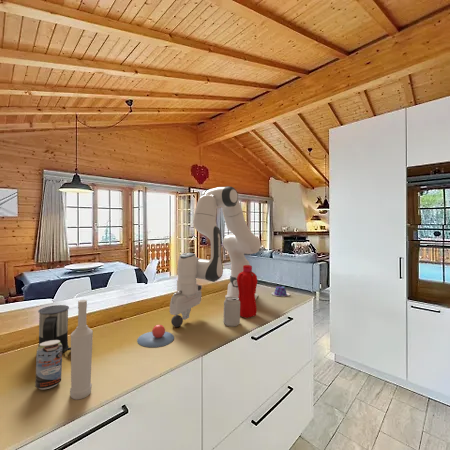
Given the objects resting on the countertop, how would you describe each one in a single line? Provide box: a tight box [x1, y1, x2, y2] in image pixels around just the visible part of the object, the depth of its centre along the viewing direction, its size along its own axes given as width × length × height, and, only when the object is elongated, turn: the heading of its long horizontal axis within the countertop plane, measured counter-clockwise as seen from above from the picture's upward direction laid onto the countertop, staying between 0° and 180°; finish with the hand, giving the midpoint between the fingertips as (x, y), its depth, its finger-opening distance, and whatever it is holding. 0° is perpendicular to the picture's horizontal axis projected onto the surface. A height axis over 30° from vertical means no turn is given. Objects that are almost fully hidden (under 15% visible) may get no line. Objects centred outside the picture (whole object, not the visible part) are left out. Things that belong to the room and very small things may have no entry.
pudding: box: [270, 285, 291, 298], centre depth 174 cm, size 12×12×5 cm
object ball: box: [151, 324, 166, 338], centre depth 106 cm, size 5×5×5 cm
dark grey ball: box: [170, 314, 184, 328], centre depth 118 cm, size 5×5×5 cm
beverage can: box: [34, 340, 63, 390], centre depth 75 cm, size 6×7×12 cm
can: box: [223, 296, 241, 328], centre depth 122 cm, size 8×8×12 cm
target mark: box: [136, 331, 175, 348], centre depth 105 cm, size 14×14×1 cm
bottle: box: [69, 299, 94, 400], centre depth 71 cm, size 5×5×25 cm
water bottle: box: [237, 264, 258, 319], centre depth 134 cm, size 9×11×25 cm
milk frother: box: [37, 304, 71, 354], centre depth 94 cm, size 14×16×15 cm
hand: (185, 318), depth 123 cm, fingers closed
